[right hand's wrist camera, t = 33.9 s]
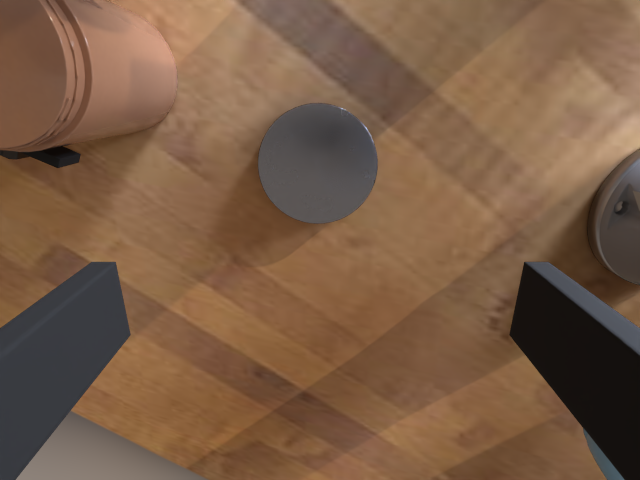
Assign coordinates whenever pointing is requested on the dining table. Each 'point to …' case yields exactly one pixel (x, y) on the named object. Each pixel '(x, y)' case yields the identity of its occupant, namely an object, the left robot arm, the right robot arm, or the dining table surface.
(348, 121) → the lid
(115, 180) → the dining table surface
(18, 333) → the right robot arm
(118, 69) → the jar
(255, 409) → the dining table surface
